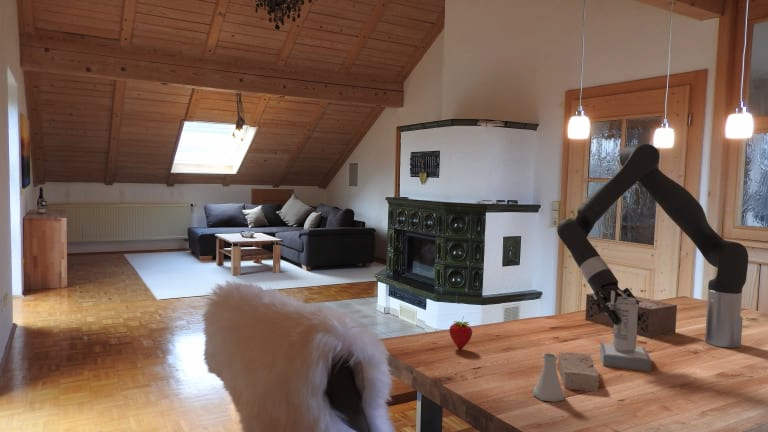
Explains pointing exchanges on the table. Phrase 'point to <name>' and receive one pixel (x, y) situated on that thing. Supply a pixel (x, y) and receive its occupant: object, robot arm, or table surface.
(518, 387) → the table surface
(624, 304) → the energy drink can
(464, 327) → the strawberry
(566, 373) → the brick
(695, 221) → the robot arm
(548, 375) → the flask
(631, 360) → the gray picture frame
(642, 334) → the tissue box cover
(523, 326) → the table surface
